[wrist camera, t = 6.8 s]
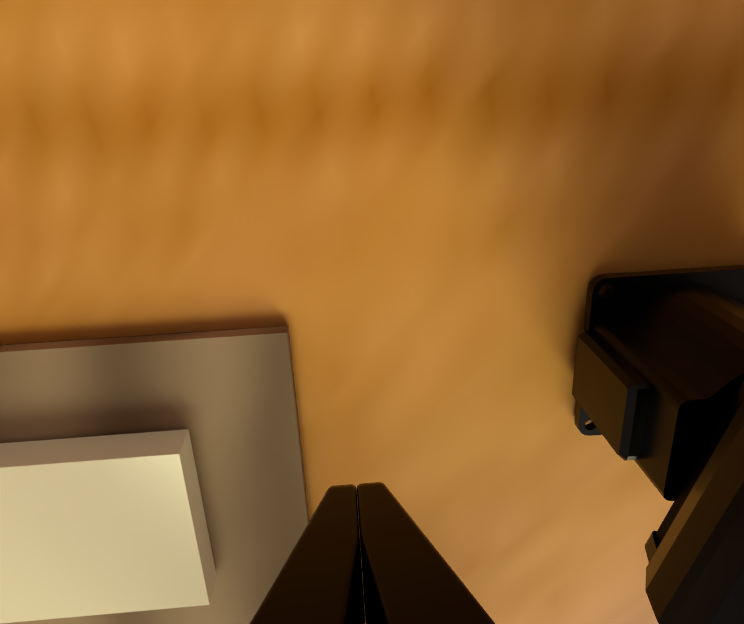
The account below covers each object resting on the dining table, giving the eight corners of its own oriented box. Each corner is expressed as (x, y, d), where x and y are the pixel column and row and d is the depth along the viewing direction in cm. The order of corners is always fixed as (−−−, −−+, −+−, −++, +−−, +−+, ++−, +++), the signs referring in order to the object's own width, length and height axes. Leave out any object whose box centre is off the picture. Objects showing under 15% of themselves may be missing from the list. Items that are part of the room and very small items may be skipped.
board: (288, 325, 21) (287, 332, 20) (318, 612, 26) (318, 623, 26) (-119, 353, 20) (-132, 361, 20) (-3, 641, 26) (-10, 654, 25)
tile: (179, 453, 20) (-64, 472, 20) (209, 604, 23) (-4, 624, 22) (189, 426, 22) (-36, 443, 21) (217, 571, 24) (17, 588, 24)
